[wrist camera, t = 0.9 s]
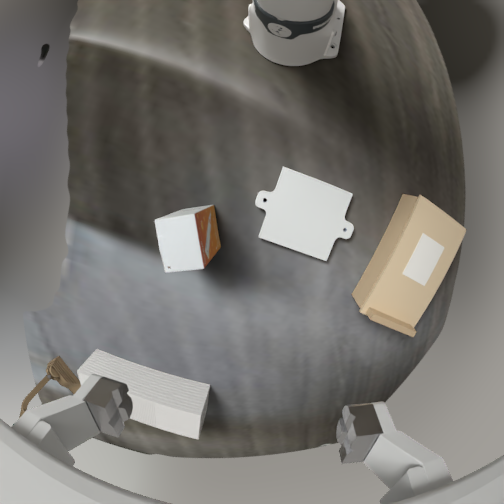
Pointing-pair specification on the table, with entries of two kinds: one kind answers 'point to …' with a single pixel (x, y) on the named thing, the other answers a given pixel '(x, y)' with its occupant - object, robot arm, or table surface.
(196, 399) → the stack of papers
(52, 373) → the banker's lamp
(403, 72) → the table surface
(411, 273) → the lid
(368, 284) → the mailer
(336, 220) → the mounting plate
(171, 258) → the small box
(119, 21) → the table surface
